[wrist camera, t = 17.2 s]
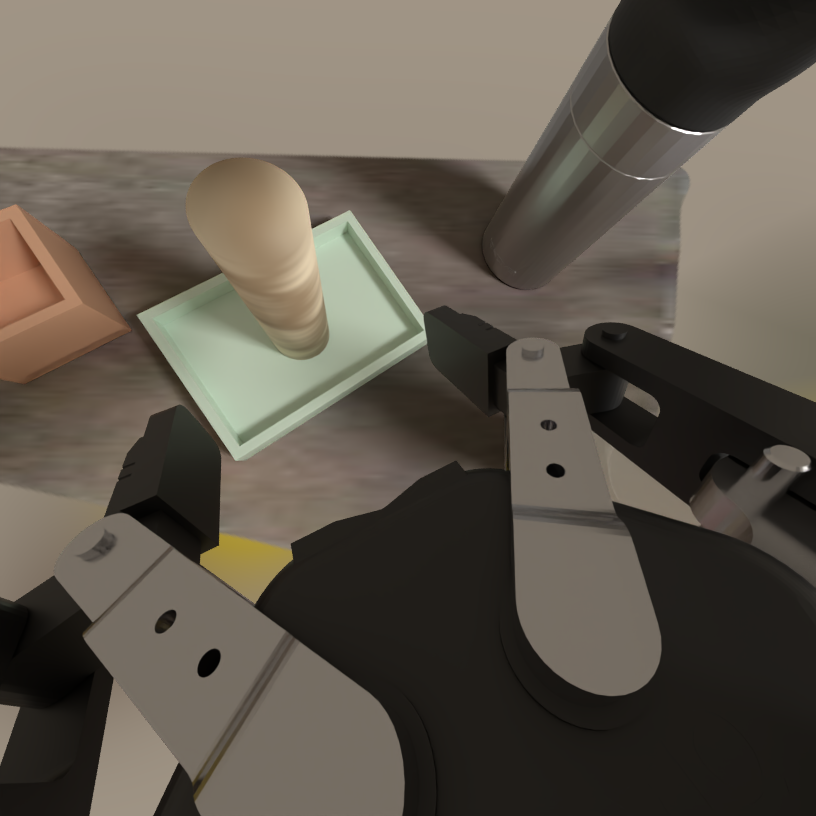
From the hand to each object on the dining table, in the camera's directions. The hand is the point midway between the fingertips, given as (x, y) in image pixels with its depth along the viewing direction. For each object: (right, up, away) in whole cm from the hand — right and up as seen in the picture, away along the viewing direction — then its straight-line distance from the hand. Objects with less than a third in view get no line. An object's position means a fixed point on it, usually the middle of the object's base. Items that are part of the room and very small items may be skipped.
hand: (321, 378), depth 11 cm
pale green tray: (-7, +6, +19) cm, 21 cm away
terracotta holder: (-27, +7, +16) cm, 32 cm away
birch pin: (-7, +6, +18) cm, 20 cm away
